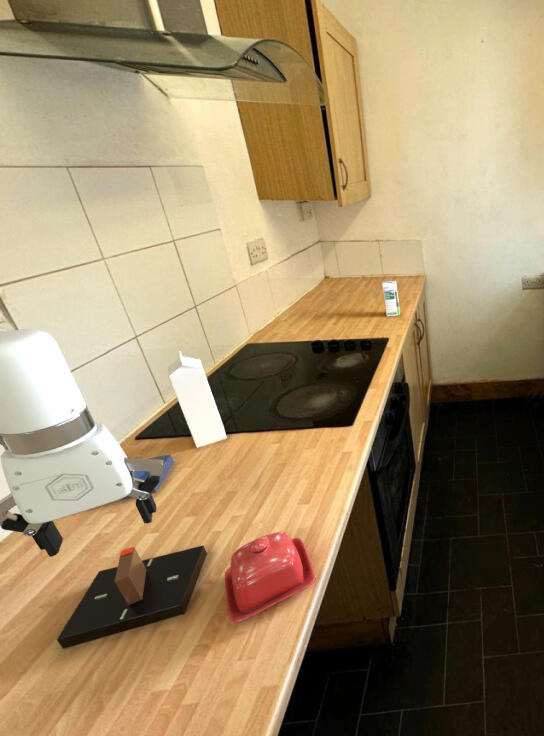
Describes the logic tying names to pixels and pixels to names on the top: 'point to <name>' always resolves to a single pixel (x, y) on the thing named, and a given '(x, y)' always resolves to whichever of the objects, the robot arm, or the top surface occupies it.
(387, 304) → the syrup box
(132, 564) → the dial knob
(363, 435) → the top surface
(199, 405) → the milk
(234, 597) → the butter dish
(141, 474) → the button box
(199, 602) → the top surface
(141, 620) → the panel
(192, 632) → the top surface
